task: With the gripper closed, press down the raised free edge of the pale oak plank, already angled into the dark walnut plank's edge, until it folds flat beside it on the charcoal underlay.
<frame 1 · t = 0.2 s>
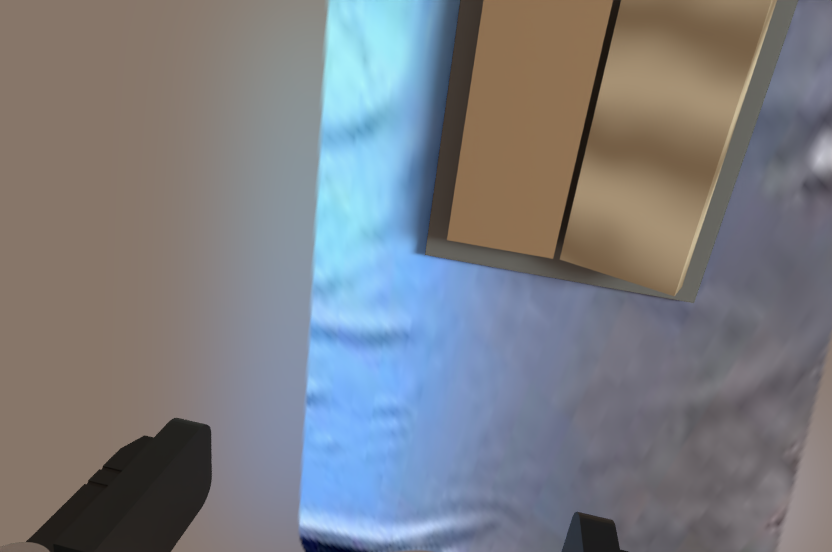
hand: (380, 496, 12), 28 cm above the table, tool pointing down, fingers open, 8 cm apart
floor section: (590, 126, 35), on the table
oak plank: (656, 141, 32), point 3 cm above the table, hinge at 25.0°
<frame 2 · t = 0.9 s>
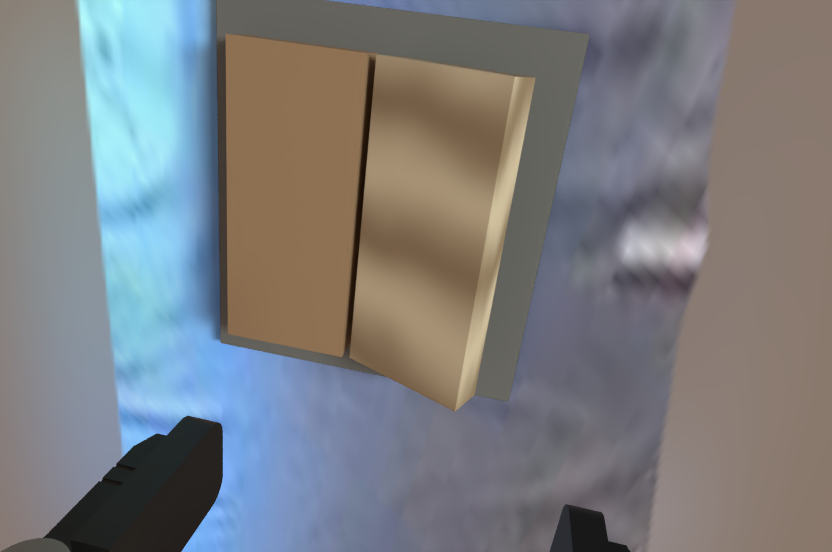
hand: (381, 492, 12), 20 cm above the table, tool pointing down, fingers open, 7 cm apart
floor section: (378, 210, 31), on the table
oak plank: (429, 237, 28), point 3 cm above the table, hinge at 25.0°
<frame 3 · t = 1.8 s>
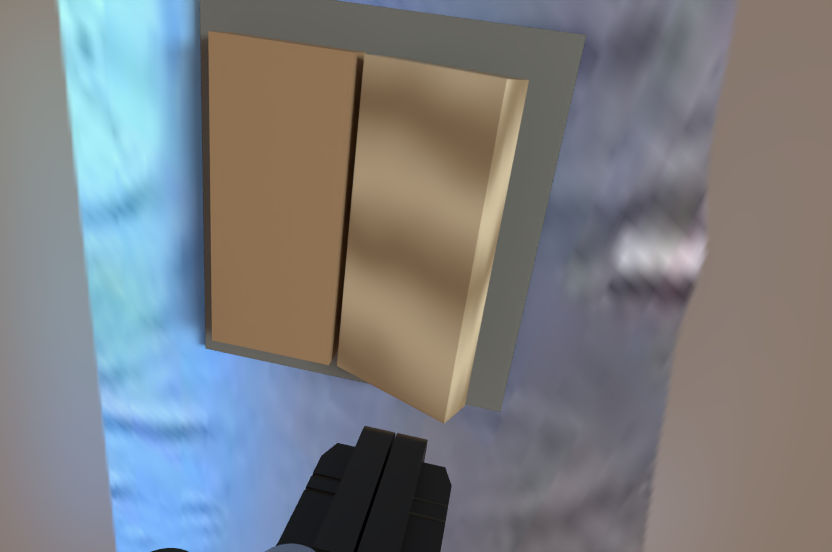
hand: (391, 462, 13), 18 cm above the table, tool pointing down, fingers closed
floor section: (367, 214, 30), on the table
oak plank: (418, 244, 27), point 3 cm above the table, hinge at 25.0°
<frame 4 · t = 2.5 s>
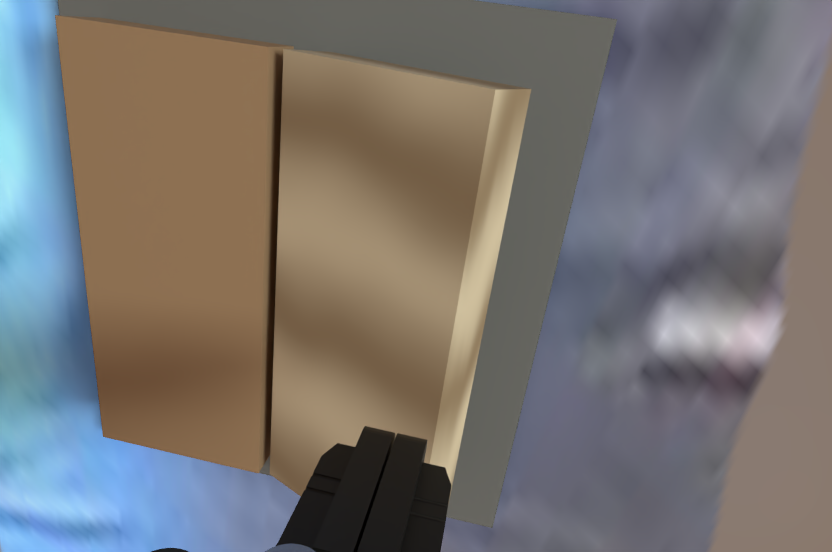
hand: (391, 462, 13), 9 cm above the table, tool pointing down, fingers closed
floor section: (308, 270, 22), on the table
oak plank: (372, 323, 19), point 3 cm above the table, hinge at 25.0°
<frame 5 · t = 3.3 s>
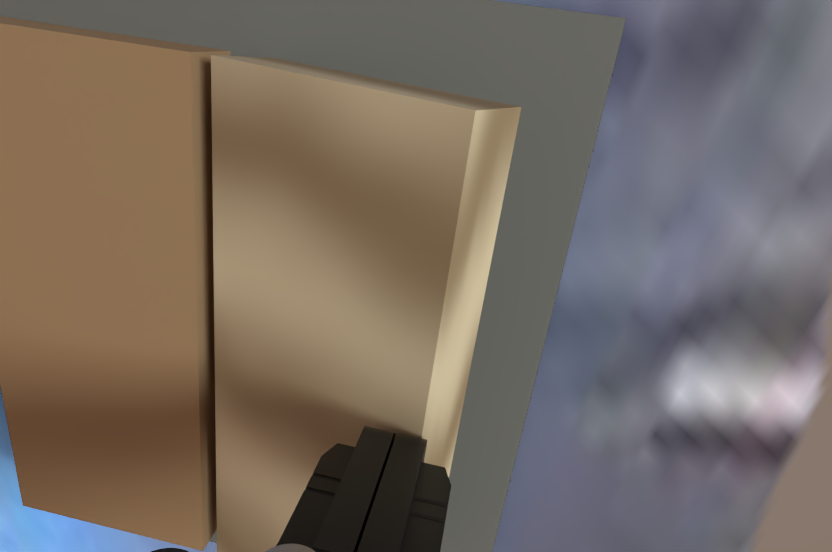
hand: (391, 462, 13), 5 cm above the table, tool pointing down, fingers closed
floor section: (259, 314, 19), on the table
oak plank: (330, 386, 16), point 3 cm above the table, hinge at 23.5°, touching gripper
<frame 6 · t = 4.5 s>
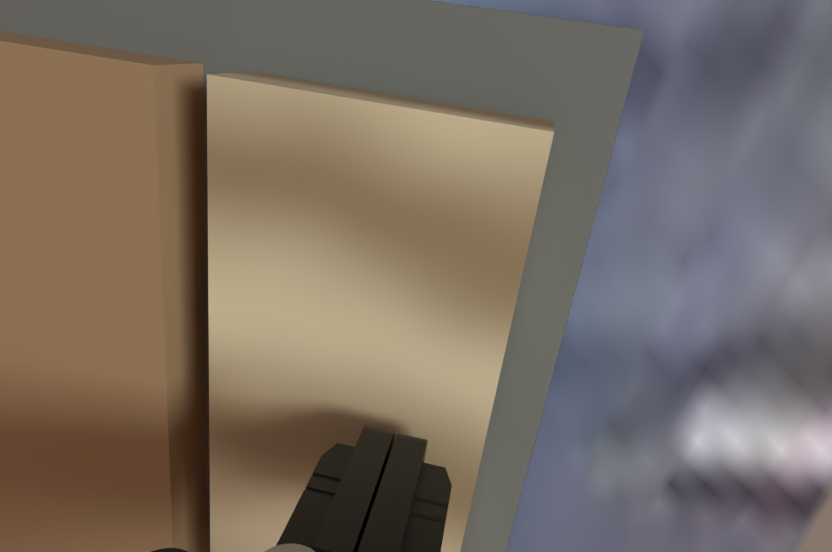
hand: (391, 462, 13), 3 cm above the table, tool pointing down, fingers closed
floor section: (238, 348, 17), on the table
oak plank: (351, 412, 15), point 2 cm above the table, hinge at 2.5°
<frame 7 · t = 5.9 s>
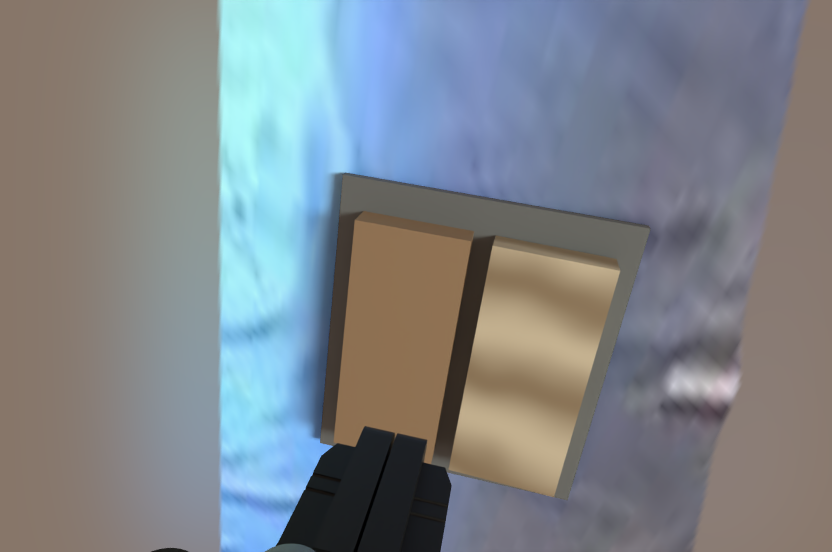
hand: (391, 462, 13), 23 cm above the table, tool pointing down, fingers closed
floor section: (464, 345, 38), on the table
oak plank: (526, 372, 36), point 2 cm above the table, hinge at 2.3°
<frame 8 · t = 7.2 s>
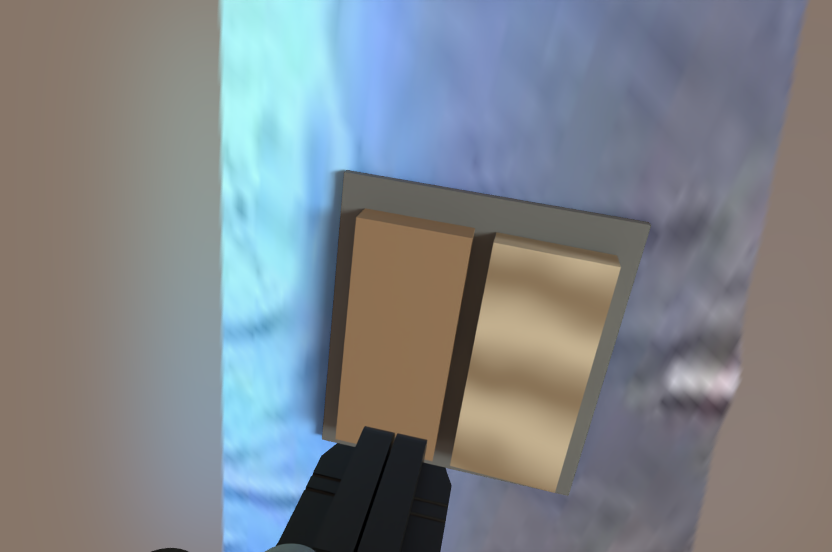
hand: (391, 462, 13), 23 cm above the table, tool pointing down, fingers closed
floor section: (465, 342, 38), on the table
oak plank: (527, 368, 36), point 2 cm above the table, hinge at 2.3°
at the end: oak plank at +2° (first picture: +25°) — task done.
